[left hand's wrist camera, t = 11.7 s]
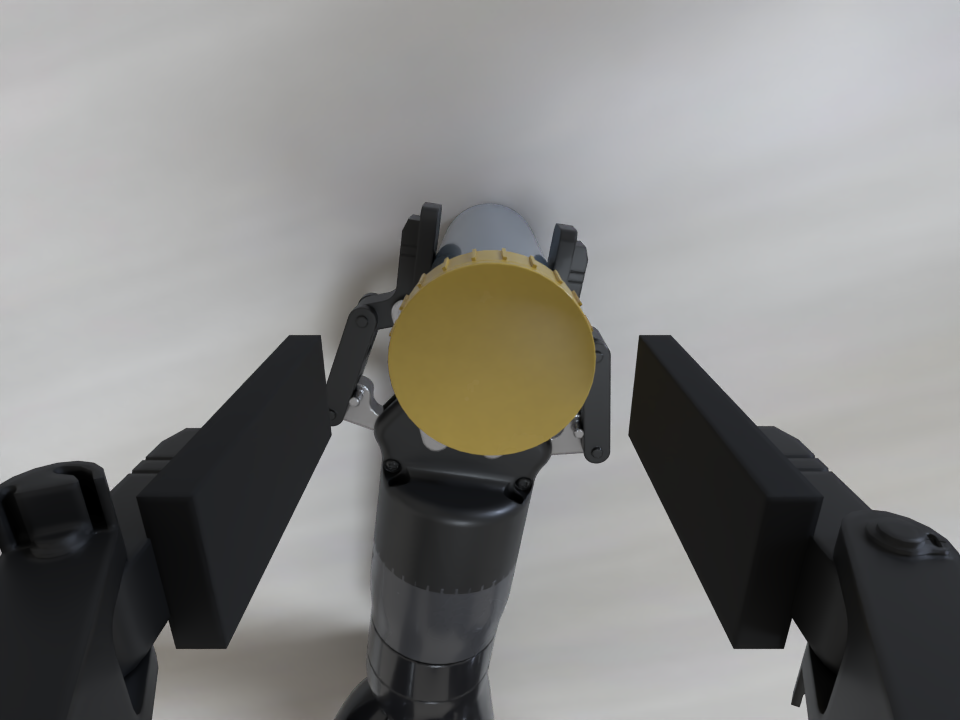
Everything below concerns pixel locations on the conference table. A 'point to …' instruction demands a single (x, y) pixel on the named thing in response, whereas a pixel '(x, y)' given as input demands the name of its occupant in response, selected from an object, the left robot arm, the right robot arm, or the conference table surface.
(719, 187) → the conference table surface
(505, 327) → the lid
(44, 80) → the conference table surface
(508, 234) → the jar
